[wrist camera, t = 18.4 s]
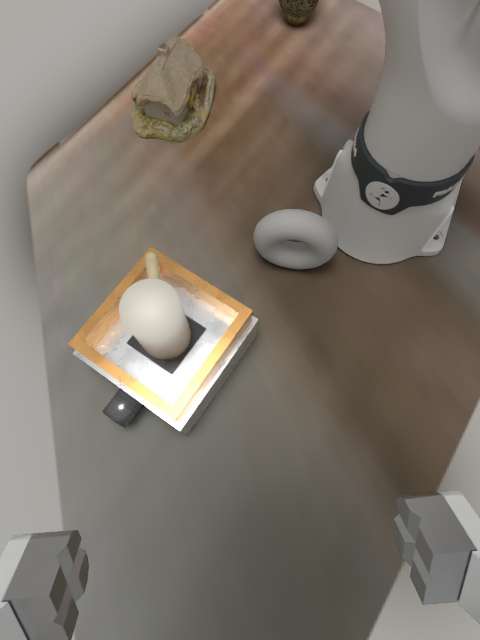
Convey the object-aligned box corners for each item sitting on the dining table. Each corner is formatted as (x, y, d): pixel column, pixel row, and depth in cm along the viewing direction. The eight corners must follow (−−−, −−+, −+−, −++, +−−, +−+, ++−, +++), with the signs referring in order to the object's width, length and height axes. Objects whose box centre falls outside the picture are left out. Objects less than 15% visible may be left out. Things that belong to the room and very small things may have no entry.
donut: (330, 255, 53) (349, 210, 44) (327, 279, 52) (346, 237, 42) (254, 243, 54) (257, 196, 44) (249, 266, 52) (251, 223, 43)
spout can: (192, 357, 42) (181, 332, 34) (142, 362, 42) (118, 337, 34) (188, 282, 45) (176, 242, 37) (141, 286, 45) (119, 247, 37)
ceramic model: (189, 154, 59) (179, 94, 49) (120, 131, 60) (98, 69, 51) (227, 87, 63) (224, 20, 54) (162, 67, 65) (149, -1, 55)
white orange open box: (165, 277, 52) (150, 241, 43) (256, 336, 49) (259, 309, 41) (75, 387, 47) (39, 370, 39) (171, 459, 44) (154, 457, 36)
